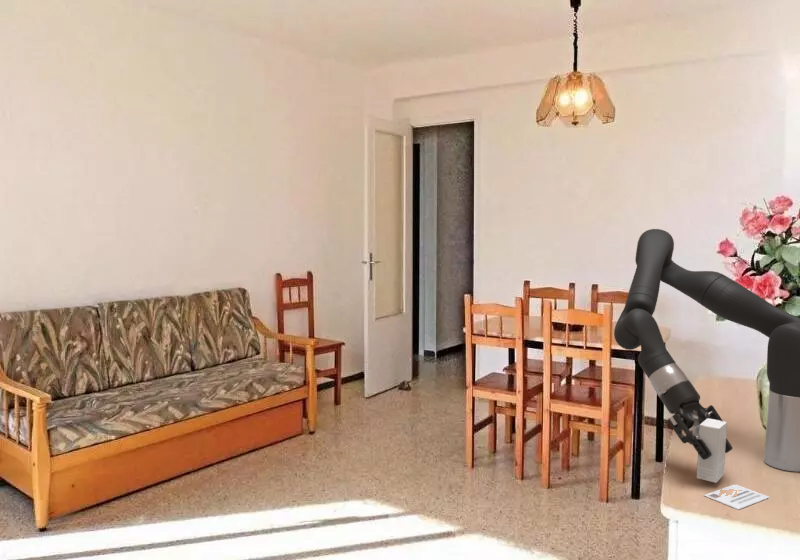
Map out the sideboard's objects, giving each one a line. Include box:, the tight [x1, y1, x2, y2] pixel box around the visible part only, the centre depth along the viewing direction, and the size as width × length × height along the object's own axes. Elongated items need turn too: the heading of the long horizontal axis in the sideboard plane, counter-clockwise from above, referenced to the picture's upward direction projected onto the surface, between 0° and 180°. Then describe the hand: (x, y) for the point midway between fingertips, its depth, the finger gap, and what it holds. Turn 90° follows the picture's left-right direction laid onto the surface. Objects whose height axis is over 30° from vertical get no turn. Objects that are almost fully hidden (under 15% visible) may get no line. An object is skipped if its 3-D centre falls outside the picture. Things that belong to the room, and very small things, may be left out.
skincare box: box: [696, 418, 728, 484], centre depth 147 cm, size 6×4×12 cm
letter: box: [703, 484, 771, 511], centre depth 140 cm, size 11×8×1 cm
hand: (718, 454), depth 146 cm, fingers closed on skincare box, 7 cm apart
